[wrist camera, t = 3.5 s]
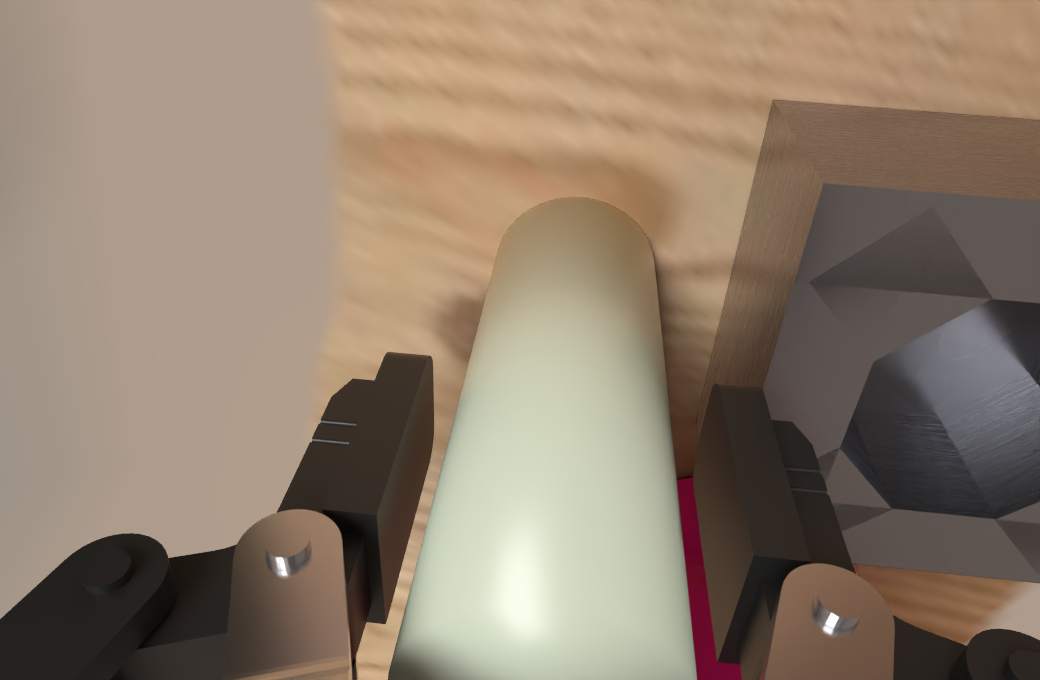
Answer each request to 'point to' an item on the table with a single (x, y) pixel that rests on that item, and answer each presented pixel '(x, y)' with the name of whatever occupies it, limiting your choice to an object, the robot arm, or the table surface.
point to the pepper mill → (700, 592)
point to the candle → (557, 474)
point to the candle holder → (900, 326)
